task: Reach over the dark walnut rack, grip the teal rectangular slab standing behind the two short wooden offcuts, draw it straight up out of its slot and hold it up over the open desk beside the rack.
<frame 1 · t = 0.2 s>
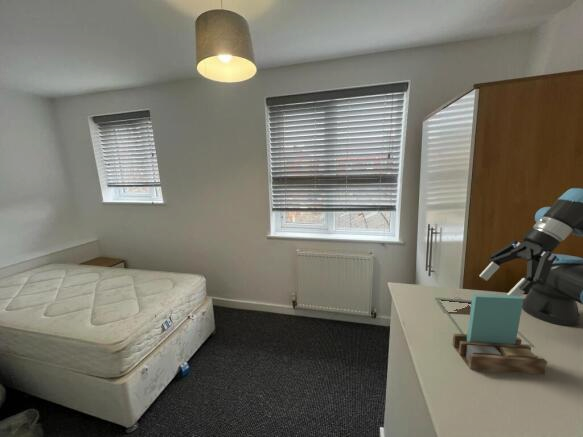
hand: (495, 287, 80), 16 cm above the dresser top, tool tilted 35°, fingers open, 13 cm apart
rack: (494, 362, 70), on the dresser top
teal rectangular slab: (488, 352, 72), point 1 cm above the dresser top, touching rack
clipboard: (474, 320, 91), on the dresser top
offcut oak: (515, 364, 68), point 1 cm above the dresser top, touching rack
offcut charcoal: (482, 362, 69), point 1 cm above the dresser top, touching rack
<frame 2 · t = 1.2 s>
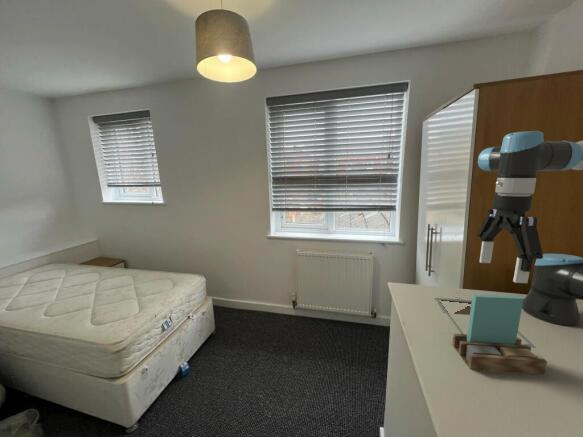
hand: (500, 271, 68), 26 cm above the dresser top, tool pointing down, fingers open, 13 cm apart
nothing on the dresser top moved.
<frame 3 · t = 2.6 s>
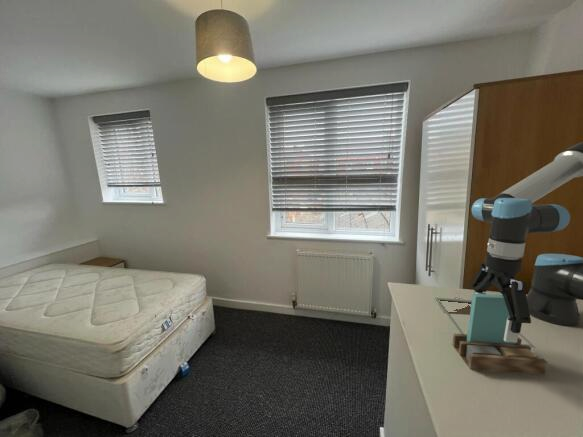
hand: (492, 325, 71), 10 cm above the dresser top, tool pointing down, fingers open, 13 cm apart
nothing on the dresser top moved.
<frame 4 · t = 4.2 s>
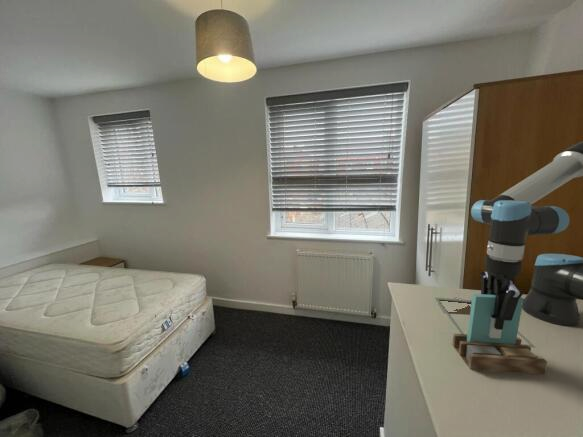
hand: (491, 334, 71), 7 cm above the dresser top, tool pointing down, fingers closed on teal rectangular slab, 2 cm apart
teal rectangular slab: (488, 352, 72), point 1 cm above the dresser top, touching gripper
everything else where it was.
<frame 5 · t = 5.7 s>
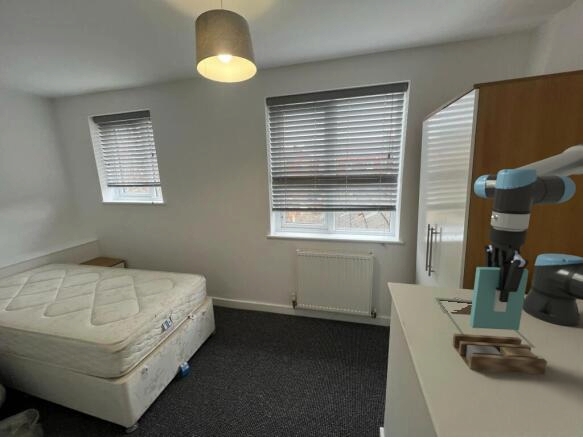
hand: (496, 308, 70), 15 cm above the dresser top, tool pointing down, fingers closed on teal rectangular slab, 2 cm apart
teal rectangular slab: (493, 327, 71), point 9 cm above the dresser top, touching gripper
everything else where it was.
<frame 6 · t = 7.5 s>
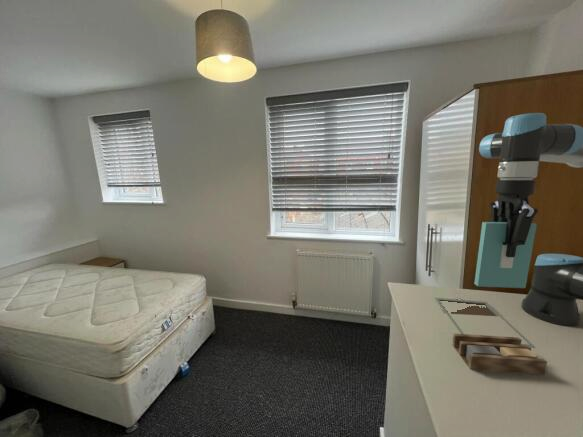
hand: (502, 265, 67), 28 cm above the dresser top, tool pointing down, fingers closed on teal rectangular slab, 2 cm apart
teal rectangular slab: (499, 285, 68), point 22 cm above the dresser top, touching gripper
everything else where it was.
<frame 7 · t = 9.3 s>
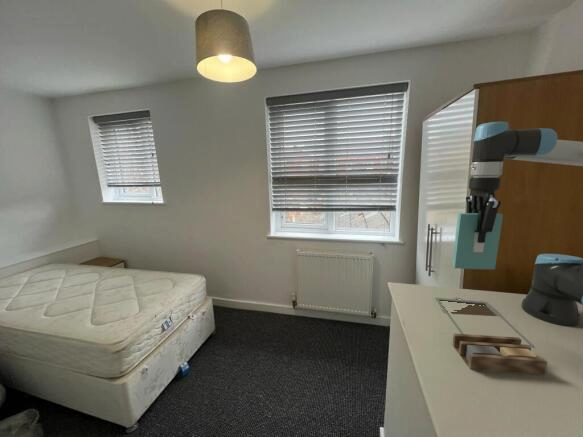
hand: (475, 250, 79), 28 cm above the dresser top, tool pointing down, fingers closed on teal rectangular slab, 2 cm apart
teal rectangular slab: (473, 267, 80), point 22 cm above the dresser top, touching gripper
everything else where it was.
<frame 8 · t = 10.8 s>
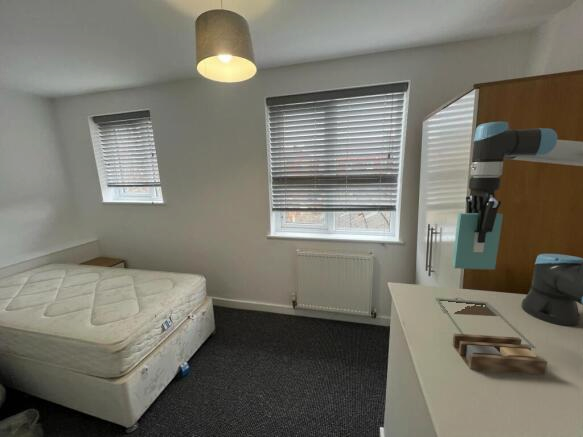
hand: (475, 250, 79), 28 cm above the dresser top, tool pointing down, fingers closed on teal rectangular slab, 2 cm apart
teal rectangular slab: (473, 267, 80), point 22 cm above the dresser top, touching gripper
everything else where it was.
at the end: the gripper is holding teal rectangular slab; teal rectangular slab inside the target area (0.0 cm from its centre), point 22.5 cm above the dresser top; offcut oak moved 0.0 cm from its start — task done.
